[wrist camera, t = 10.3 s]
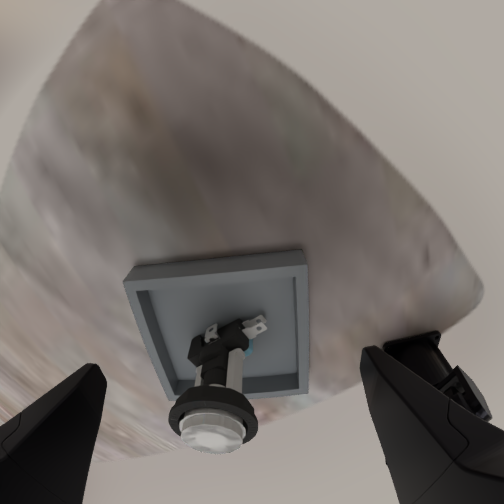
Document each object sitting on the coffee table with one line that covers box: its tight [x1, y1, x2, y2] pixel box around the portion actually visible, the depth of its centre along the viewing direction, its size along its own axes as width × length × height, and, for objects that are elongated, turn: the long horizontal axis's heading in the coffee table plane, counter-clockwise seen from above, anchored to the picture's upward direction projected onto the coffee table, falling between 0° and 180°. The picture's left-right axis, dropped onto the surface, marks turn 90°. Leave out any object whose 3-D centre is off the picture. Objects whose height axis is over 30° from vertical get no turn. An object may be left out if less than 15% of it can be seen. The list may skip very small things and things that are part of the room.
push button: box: [168, 315, 267, 454], centre depth 19 cm, size 7×5×10 cm
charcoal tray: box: [123, 249, 309, 401], centre depth 23 cm, size 13×13×2 cm
